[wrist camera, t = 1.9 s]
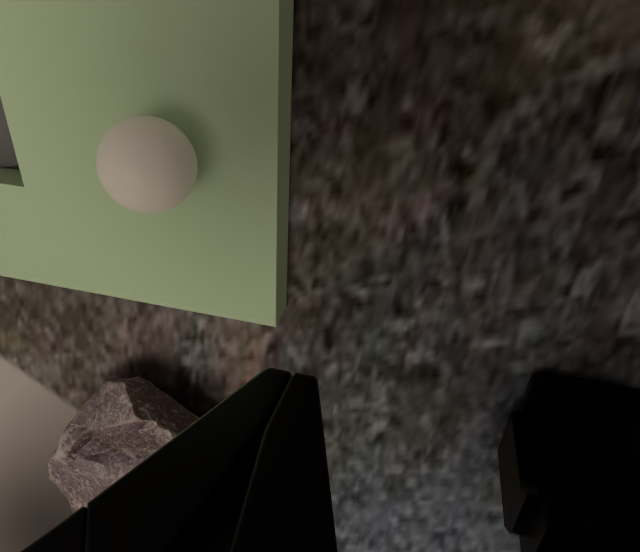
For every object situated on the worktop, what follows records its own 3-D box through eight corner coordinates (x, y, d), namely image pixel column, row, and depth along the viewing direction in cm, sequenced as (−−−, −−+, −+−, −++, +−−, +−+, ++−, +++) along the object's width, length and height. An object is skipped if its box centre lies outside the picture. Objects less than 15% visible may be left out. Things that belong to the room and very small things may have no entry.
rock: (54, 441, 31) (-1, 508, 27) (135, 341, 25) (80, 408, 21) (163, 511, 33) (126, 584, 29) (263, 432, 27) (234, 510, 23)
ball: (209, 111, 17) (164, 135, 14) (215, 199, 19) (174, 235, 16) (124, 101, 18) (64, 123, 15) (136, 187, 19) (85, 221, 17)
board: (295, -75, 15) (280, -80, 14) (286, 306, 23) (275, 327, 21) (-186, -99, 18) (-236, -105, 17) (-57, 244, 26) (-85, 259, 24)
